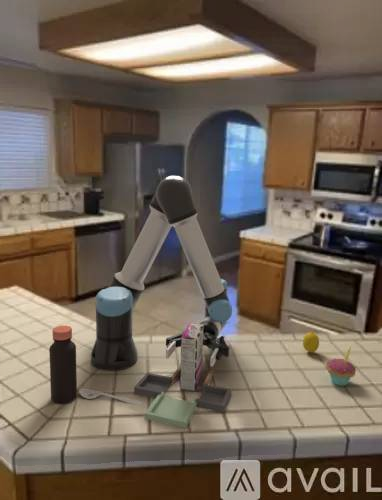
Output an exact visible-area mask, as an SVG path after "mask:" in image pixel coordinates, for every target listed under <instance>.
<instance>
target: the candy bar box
mask: <svg viewBox="0 0 382 500" xmlns="http://www.w3.org/2000/svg"><path fill="white" fill-rule="evenodd" d="M203 326H204V325H202V324H200V323H193V322H191V323H187V326H186V328H185V329H184V331H185V332H184V333H183V335H182V337H181V347H180V365H181V373H180V383H179V389H180V390H186V391H192V392H193V391H194V392H196V390H197V388H198V385H199V384H200V383H199V382H200V380H201V377H202V374H203V356H204V355H203V354H204V353H203V351H204V349H203V348H204V345H203Z"/></svg>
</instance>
